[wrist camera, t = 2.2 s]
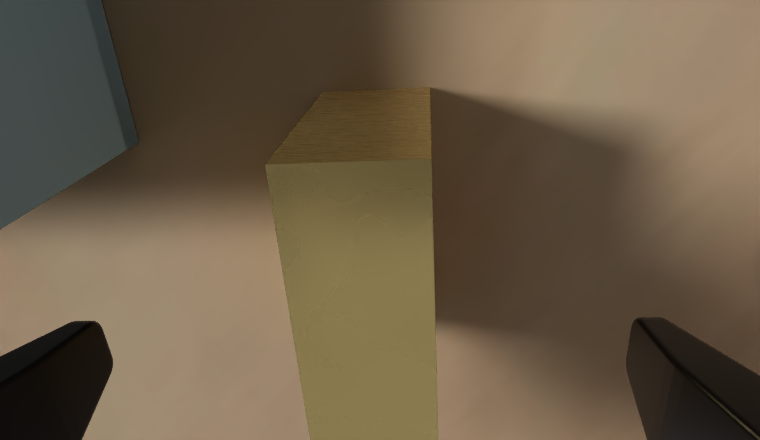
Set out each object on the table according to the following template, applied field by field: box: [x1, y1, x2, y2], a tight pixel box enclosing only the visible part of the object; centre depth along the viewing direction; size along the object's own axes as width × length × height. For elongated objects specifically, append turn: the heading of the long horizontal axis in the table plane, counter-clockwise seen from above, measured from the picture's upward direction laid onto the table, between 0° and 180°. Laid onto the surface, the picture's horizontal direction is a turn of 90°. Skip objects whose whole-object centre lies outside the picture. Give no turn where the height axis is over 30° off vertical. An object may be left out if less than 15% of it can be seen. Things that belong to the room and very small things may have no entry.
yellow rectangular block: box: [265, 87, 438, 440], centre depth 12 cm, size 6×2×5 cm, turn 4°
